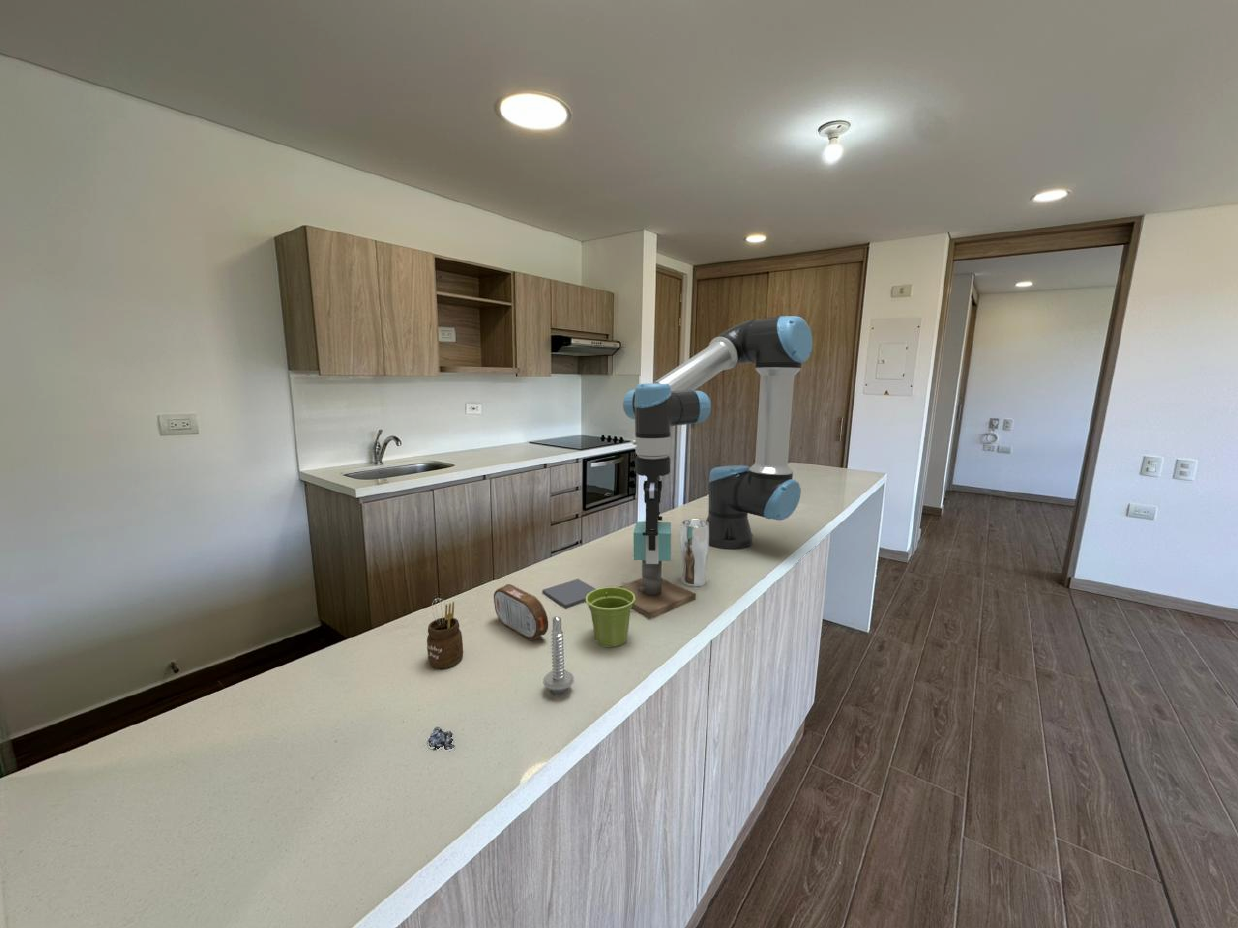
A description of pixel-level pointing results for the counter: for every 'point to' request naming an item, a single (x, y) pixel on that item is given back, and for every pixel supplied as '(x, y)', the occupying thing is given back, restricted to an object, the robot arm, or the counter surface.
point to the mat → (569, 593)
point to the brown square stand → (656, 592)
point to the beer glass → (694, 551)
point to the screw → (558, 664)
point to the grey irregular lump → (441, 739)
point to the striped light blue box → (664, 541)
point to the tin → (521, 611)
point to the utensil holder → (444, 640)
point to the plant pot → (610, 614)
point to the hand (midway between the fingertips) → (652, 555)
